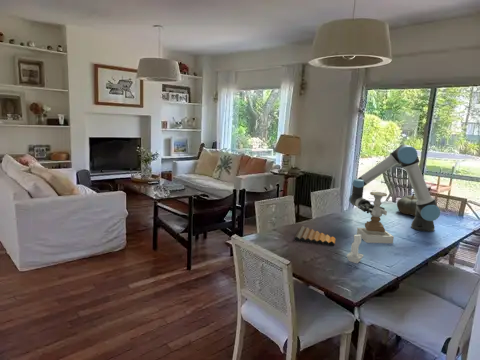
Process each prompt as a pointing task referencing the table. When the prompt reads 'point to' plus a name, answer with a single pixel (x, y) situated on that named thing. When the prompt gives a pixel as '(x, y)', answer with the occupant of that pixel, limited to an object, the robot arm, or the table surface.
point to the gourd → (407, 204)
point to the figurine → (355, 250)
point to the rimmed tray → (375, 236)
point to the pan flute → (313, 236)
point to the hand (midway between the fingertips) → (380, 213)
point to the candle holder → (374, 223)
